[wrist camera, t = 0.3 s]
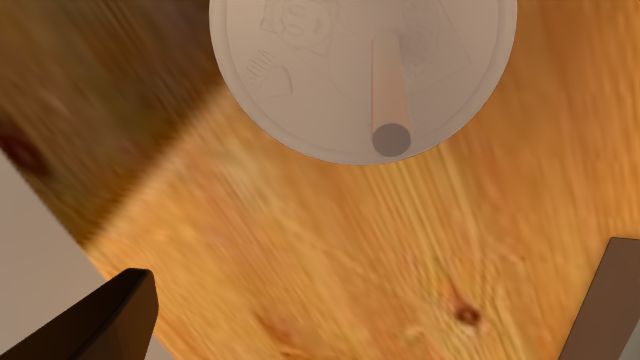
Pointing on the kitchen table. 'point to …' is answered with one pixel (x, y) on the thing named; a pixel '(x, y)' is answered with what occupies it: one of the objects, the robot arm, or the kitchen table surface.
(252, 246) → the kitchen table surface
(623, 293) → the stand
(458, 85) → the smoothie
